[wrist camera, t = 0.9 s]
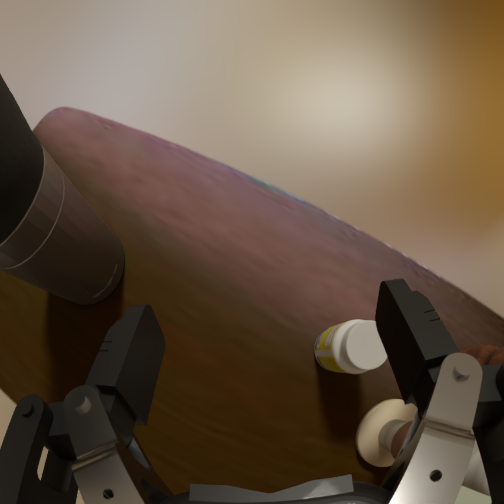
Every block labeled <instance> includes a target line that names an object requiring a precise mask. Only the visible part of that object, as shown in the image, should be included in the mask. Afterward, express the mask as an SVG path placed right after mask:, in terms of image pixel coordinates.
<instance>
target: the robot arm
mask: <svg viewBox="0 0 504 504" xmlns="http://www.w3.org/2000/svg"><path fill="white" fill-rule="evenodd" d="M123 269H124V251H123V247H122V245H121V243H120V241H119V239H118V238H117V237H116V235H115V234H114V233H113V232H112V231H111V230H110V228H109V227H108V226H107V225H106V224H105V223H104V221H103V220H102V219H101V218H100V217H99V216H98V214H97V213H96V212H95V211H94V210H93V208H92V207H91V206H90V205H89V204H88V203H87V201H86V200H85V199H84V198H83V197H82V195H81V194H80V193H79V192H78V190H77V189H76V188H75V187H74V186H73V184H72V183H71V182H70V181H69V179H68V178H67V177H66V176H65V174H64V173H63V172H62V170H61V169H60V168H59V167H58V166H57V164H56V163H55V162H54V160H53V159H52V158H51V157H50V155H49V154H48V153H47V151H46V150H45V149H44V147H43V146H42V145H41V143H40V141H39V140H38V139H37V137H36V136H35V135H34V133H33V132H32V130H31V129H30V127H29V125H28V123H27V121H26V119H25V117H24V115H23V114H22V112H21V110H20V108H19V106H18V104H17V102H16V100H15V98H14V97H13V95H12V93H11V92H10V90H9V88H8V87H7V85H6V83H5V81H4V80H3V78H2V76H1V74H0V270H2V271H4V272H6V273H8V274H10V275H12V276H14V277H16V278H18V279H21V280H23V281H25V282H27V283H29V284H32V285H34V286H36V287H38V288H41V289H43V290H45V291H48V292H50V293H52V294H55V295H57V296H59V297H62V298H64V299H67V300H69V301H72V302H74V303H77V304H80V305H90V304H95V303H98V302H100V301H102V300H104V299H105V298H106V297H108V296H109V295H110V294H111V293H112V292H113V291H114V289H115V288H116V286H117V285H118V283H119V281H120V279H121V276H122V274H123ZM375 322H376V328H377V332H378V334H379V337H380V339H381V342H382V344H383V347H384V349H385V352H386V354H387V357H388V359H389V362H390V365H391V367H392V370H393V373H394V375H395V378H396V381H397V384H398V386H399V389H400V392H401V395H402V398H403V401H404V404H405V405H406V404H410V403H414V402H416V404H417V407H418V410H417V412H416V414H415V416H414V419H413V421H412V424H411V426H410V429H409V431H408V433H407V436H406V438H405V440H404V442H403V445H402V447H401V449H400V451H399V453H398V455H397V457H396V459H395V461H394V462H393V464H392V466H391V467H390V469H389V471H388V472H387V474H386V476H385V477H384V479H383V481H382V483H381V485H380V486H377V485H373V484H369V483H364V482H355V481H352V477H351V474H350V475H345V476H339V477H334V478H327V479H321V480H313V481H309V482H307V483H304V484H301V485H298V486H295V487H292V488H288V489H285V490H282V491H279V492H275V493H262V492H257V491H252V490H247V489H242V488H237V487H233V486H229V485H201V484H191V486H190V491H189V492H184V493H181V494H177V495H175V496H174V494H173V493H172V492H171V490H170V489H169V488H168V486H167V485H166V484H165V483H164V482H163V481H162V480H161V478H160V477H159V476H158V474H157V473H156V471H155V470H154V468H153V466H152V465H151V463H150V461H149V460H148V458H147V456H146V454H145V452H144V451H143V449H142V447H141V445H140V443H139V442H138V440H137V438H136V436H135V434H134V433H133V429H134V425H135V424H136V425H146V424H147V420H148V415H149V411H150V407H151V403H152V398H153V394H154V390H155V386H156V382H157V378H158V374H159V370H160V366H161V363H162V359H163V355H164V351H165V339H164V335H163V333H162V330H161V328H160V326H159V324H158V321H157V319H156V317H155V314H154V312H153V309H152V307H151V306H150V305H132V306H128V308H127V309H126V312H125V314H124V316H123V318H122V320H117V321H116V323H115V324H114V325H113V326H112V327H111V328H110V329H109V330H108V332H107V334H106V336H105V339H104V343H102V345H101V347H100V352H98V354H97V357H96V359H95V361H94V363H93V366H92V368H91V370H90V373H89V375H88V378H87V380H86V383H85V385H84V386H79V387H76V388H74V389H73V390H71V391H70V392H69V393H68V394H67V396H66V397H65V399H64V401H60V402H54V403H48V404H46V403H45V402H44V401H43V400H42V399H41V398H40V397H39V396H38V395H35V394H31V395H27V396H25V397H24V398H22V399H21V400H20V401H19V403H18V404H17V406H16V408H15V411H14V413H13V416H12V418H11V421H10V423H9V426H8V429H7V431H6V434H5V437H4V440H3V443H2V446H1V449H0V504H76V498H77V492H78V488H79V490H80V493H81V495H82V498H83V500H84V502H85V504H454V503H455V501H456V499H457V496H458V493H459V491H460V488H461V486H462V483H463V480H464V477H465V474H466V471H467V468H468V465H469V462H470V459H471V456H472V452H473V449H474V445H475V439H476V442H477V445H478V449H479V452H480V456H481V459H482V463H483V467H484V470H485V474H486V478H487V483H488V487H489V491H490V496H491V501H492V504H504V362H503V363H502V365H480V364H479V362H478V361H477V360H476V359H475V358H474V357H472V356H471V355H468V354H466V353H460V351H459V350H458V348H457V346H456V344H455V343H454V341H453V339H452V337H451V336H450V334H449V332H448V330H447V329H446V327H445V325H444V324H443V322H442V320H440V317H439V316H438V314H437V312H435V309H434V308H433V306H432V304H431V303H430V301H429V300H428V299H427V298H426V297H425V296H424V295H422V294H421V293H420V292H418V291H411V290H410V288H409V287H408V285H407V283H406V282H405V280H404V279H402V278H400V279H394V280H387V281H382V282H381V284H380V289H379V296H378V302H377V308H376V315H375ZM471 429H473V432H474V435H473V434H471ZM43 447H46V448H47V449H48V450H49V451H48V454H47V458H46V462H45V466H44V470H43V474H42V478H41V481H40V480H39V478H38V474H37V469H38V465H39V461H40V457H41V454H42V450H43Z"/></svg>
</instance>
